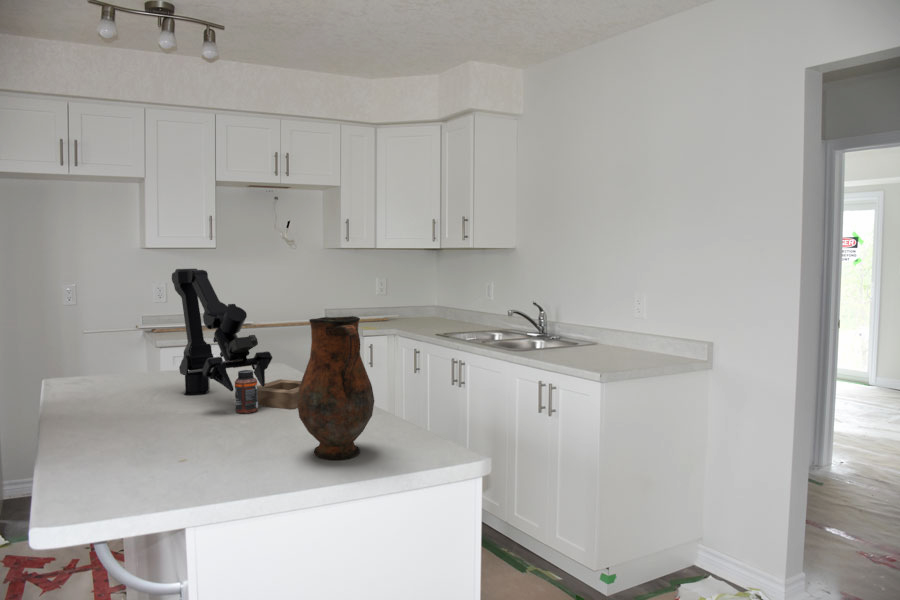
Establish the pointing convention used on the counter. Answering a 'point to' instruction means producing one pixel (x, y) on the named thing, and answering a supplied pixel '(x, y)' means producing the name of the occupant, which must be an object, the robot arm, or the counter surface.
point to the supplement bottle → (246, 392)
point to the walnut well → (279, 394)
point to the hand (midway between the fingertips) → (248, 388)
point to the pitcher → (335, 388)
